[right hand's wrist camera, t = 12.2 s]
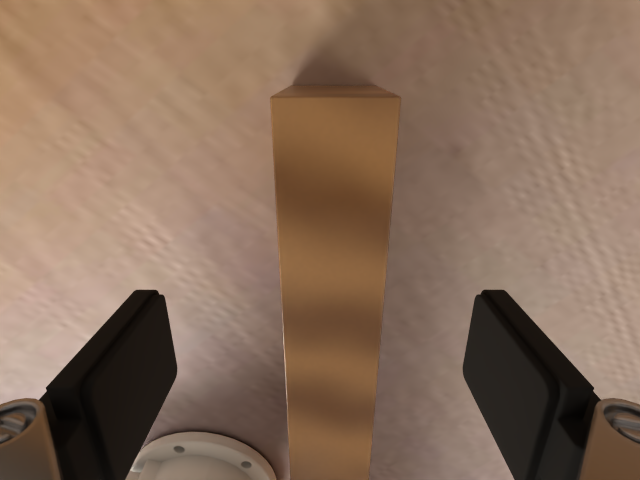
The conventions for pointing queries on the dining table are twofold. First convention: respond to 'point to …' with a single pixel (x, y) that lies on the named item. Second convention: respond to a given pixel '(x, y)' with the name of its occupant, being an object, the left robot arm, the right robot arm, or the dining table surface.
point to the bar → (332, 267)
